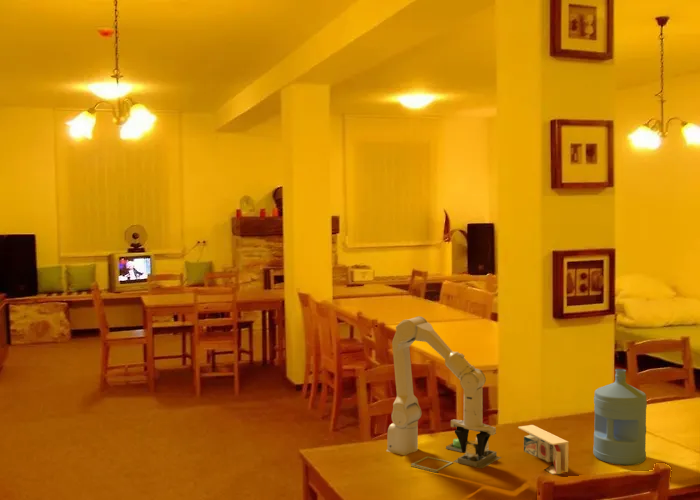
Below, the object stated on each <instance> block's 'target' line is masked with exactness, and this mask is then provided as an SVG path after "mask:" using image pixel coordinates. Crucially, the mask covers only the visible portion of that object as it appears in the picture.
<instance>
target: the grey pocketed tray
mask: <svg viewBox="0 0 700 500" xmlns="http://www.w3.org/2000/svg"><path fill="white" fill-rule="evenodd" d="M465 456H466V453H464V454H463V455H461V456H459V457H457V459H456V460H455V459H454V460H453V461H452V462H453V463H457V464H461V465H466V466H471V467H473V468H479V469H484V468H486V467H488V466H489V465H491V464H493V463H494V462H496V461H498V460H500V459H501V458H502V457H501V456H497V451H494V450H489V455H487V456H479V460H478V461H477V462H475V461H471V460H467V459H465Z"/></svg>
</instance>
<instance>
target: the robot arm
mask: <svg viewBox="0 0 700 500" xmlns="http://www.w3.org/2000/svg"><path fill="white" fill-rule="evenodd" d="M395 330H396V331H395V333H394V336H393V338H392V341H391V346H392V358H393V367H394V378H395V380H394V381H395V389H396V390H395V391H396V398H395V399H394V401H393V403H392V407H393V408H392V411H391V421H392V423H391V424H389V426H388V428H387V432H386V433H387V439H386V440H387V441H386V442H387V445H386V446H387V449H386V450H385V451H386V452H389V453H393V454H397V455H402V456H406V455H408V454H411V453H415V452H417V451H418V450H419V448H418V447H419V445H418V444H419V443H418V442H419V440H418V438H419V437H418V436H419V435H418V434H419V433H418V431H419V430H418V429H419V428H418V426H419V425H418V424H419V420H420V418H421V417H422V409H421V407H420V404H419V399H418V398H417V397H416V396H415V395H414V393H415V392H414V385H413V374H412V361H411V352H410V347H411V345H412V344H413V343H414V342H416V341H417V342H424V343H426V344H428V345H429V346H430V347H431V348H432V349H433V350H434V351H435V352H436V353H438V354H439V355H440V356H441V357H442V359H444V364H445V367H446V368H447V369H449V370H450V372H452V374H453V375H455V377H456V378H457V379H459V383H460V386H461V388H462V389H463V420H462V419H455V418H454V419H451V420H450V427H451V428H456V429H454V434H455V435H456V437H457V439H459V442H460V445H461V449H462V452H461V453H462V454H463V453H464V454H466V442H467V441H469V433H470V432H469V431H473V432H479V433H477V434H476V435H475V436H476V437H477V441H478V456H482V455H484V450H485V446H486V444H487V441H488V439H489V440H490V438H491V436H494V435H495V434H497V427H496V426H495V427H494V426H492V425H489V424H486V423H483V408H484V407H483V401H484V400H483V396H484V395H483V391H484V390H483V387H484V385H485V383H486V375H485V374H484V372H483V370H481V369H479V368H476V367H475V366H474V365H472V364H471V363H470V362H469V361H468V360H467V359H466V358H465V354H463V353H461V352H459V351H453V350H452V349H451V348H450V346H449V345H448V344H447V343H446V342H445V341H444V340H443V339H442V338H441V336H440V335H439V334H438V333H437V332H436V331H435V329H434V328H433V326H432V324H431V323H430V322H428V321H427V319H426V318H425V317H423V316H419V315H418V316H415V317H412V318H409V319H403V320H401V321H400V322H399V323H398V324H397V325H396V326H395ZM476 437H475V438H476Z"/></svg>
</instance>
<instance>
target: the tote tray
mask: <svg viewBox="0 0 700 500" xmlns="http://www.w3.org/2000/svg"><path fill="white" fill-rule="evenodd" d="M427 459H432V460H435V461H441V462H444V463H447V464H445V465H443V466H441V467H438V468H437V469H436V468H435V469H434V468H432V467H431V468H430V467H429V466H423V465H419V463H420V462H423V461H424V460H427ZM453 463H454V462H453V461H449V460H446V459H440V458H437V457H432V456H430V455H429V456H425V457H422V458H421V459H419V460H416V461H415V462H412V463H411V464H410V467H411V468H414V469H419V470H422V471H426V472H431V473H433V474H439V471H441V470H442V469H444V468H447V467H448V466H450V465H452V464H453Z"/></svg>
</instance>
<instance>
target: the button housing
mask: <svg viewBox="0 0 700 500" xmlns="http://www.w3.org/2000/svg"><path fill="white" fill-rule="evenodd" d="M445 449H446V450H450V451H453V452H454V451H455V452H458V453H463V452H462V449H461V448H456V447H453V442H452V443H450V444H448V445H446V446H445Z"/></svg>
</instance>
